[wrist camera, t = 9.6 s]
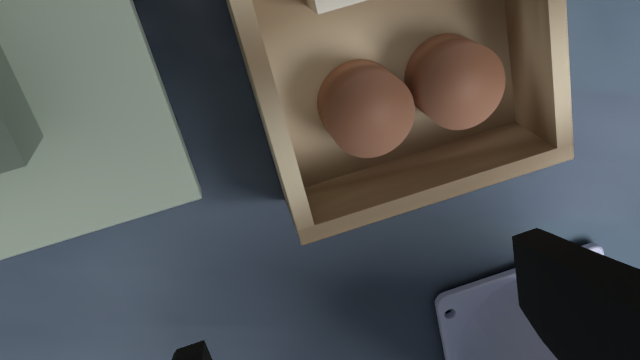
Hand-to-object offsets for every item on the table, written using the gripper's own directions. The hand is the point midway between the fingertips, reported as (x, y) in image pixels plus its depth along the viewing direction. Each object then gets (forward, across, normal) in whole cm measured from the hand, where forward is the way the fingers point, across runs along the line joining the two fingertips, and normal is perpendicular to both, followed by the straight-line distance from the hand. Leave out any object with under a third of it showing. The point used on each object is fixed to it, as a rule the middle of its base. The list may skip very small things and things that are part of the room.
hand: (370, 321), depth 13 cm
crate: (+10, -4, -4) cm, 12 cm away
